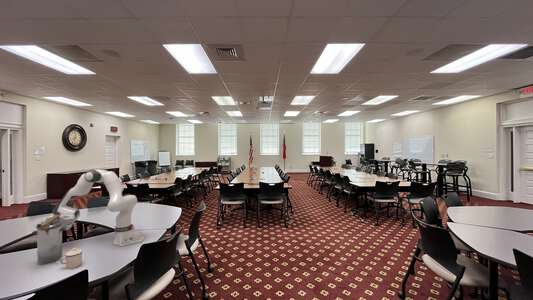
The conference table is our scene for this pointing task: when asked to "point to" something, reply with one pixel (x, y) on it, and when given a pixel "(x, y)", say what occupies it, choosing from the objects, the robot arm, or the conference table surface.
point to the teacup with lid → (73, 258)
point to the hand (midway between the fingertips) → (55, 217)
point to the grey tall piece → (49, 242)
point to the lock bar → (50, 220)
